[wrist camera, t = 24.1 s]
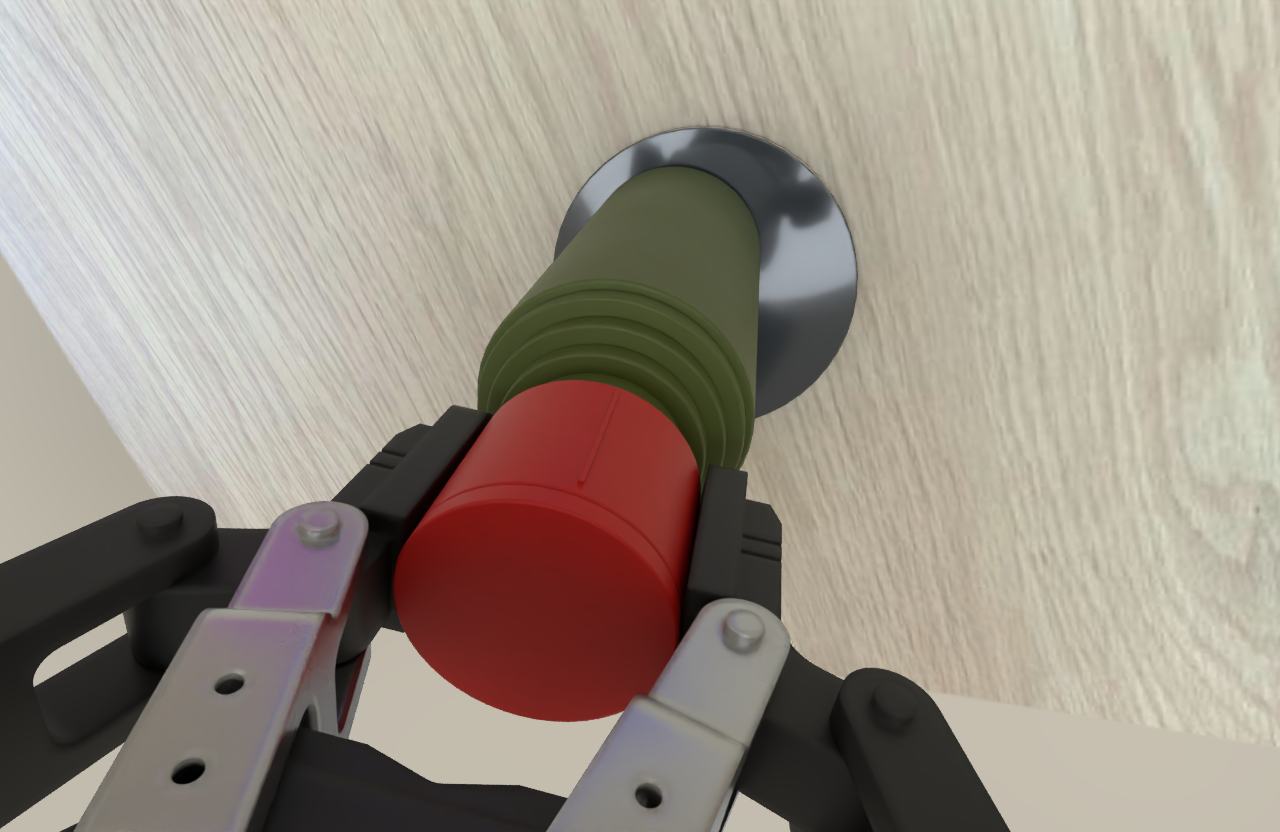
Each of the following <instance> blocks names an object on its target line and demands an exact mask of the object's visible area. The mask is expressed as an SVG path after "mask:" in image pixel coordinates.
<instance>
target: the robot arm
mask: <svg viewBox="0 0 1280 832" xmlns="http://www.w3.org/2000/svg"><path fill="white" fill-rule="evenodd" d="M492 417H493V415H492V414H491V413H487V412H483V411H478V410H474V409H469V408H465V407H460V406H456V405H452V406H451V407H450V408H449V409H448V410H447V411H446V412H445V413H444V414H443V415H442V416H441V417H440V419H439V420H438V421H437V422H436V423H435V424H434V425H433V426H428V425H423V424H418V425H416V426H414V427H411V428H409V429H407V430H405V431H403V432H400V433H398V434H396V435H395V436H394V437H393V438H392V439H391V440H390V441H389V442H388V444H387V445H386V446H385V447H384V448H383V449H382V452H379V453H378V454H377V455H376V456H375V457H374V458H373V459H372V460H371V461H370V464H367V465H366V466H365V467H364V468H363V469H362V470H361V471H360V472H359V473H358V474H357V475H356V476H355V477H354V478H353V479H352V480H351V481H350V482H349V483H348V484H347V485H346V486H345V487H344V488H343V489H342V490H341V491H340V492H339V493H338V494H337V495H336V496H335V497H334V498H333V499H332V500H331V501H320V502H312V503H306V504H303V505H299V506H297V507H294V508H292V509H290V510H288V511H286V512H284V513H283V514H281V515H280V516H279V517H278V518H277V519H276V520H275V521H274V522H273V524H272V525H271V527H270V529H234V528H217V523H216V516H215V512H214V510H213V509H212V507H211V506H210V505H208V504H207V503H205V502H203V501H201V500H198V499H195V498H190V497H182V496H169V497H160V498H154V499H149V500H146V501H142V502H139V503H137V504H134V505H132V506H129V507H127V508H125V509H123V510H120V511H118V512H116V513H113V514H111V515H109V516H107V517H104V518H103V519H100V520H98V521H96V522H93V523H91V524H89V525H87V526H84V527H82V528H80V529H78V530H75V531H73V532H71V533H69V534H67V535H64V536H62V537H60V538H57V539H55V540H53V541H51V542H49V543H46V544H44V545H42V546H39V547H37V548H35V549H33V550H31V551H28V552H26V553H24V554H21V555H19V556H17V557H15V558H13V559H10V560H8V561H6V562H4V563H1V564H0V828H1V827H3V826H4V825H6V824H7V823H9V822H10V821H12V820H13V819H15V818H16V817H17V816H19V815H20V814H22V813H23V812H24V811H26V810H27V809H29V808H30V807H32V806H33V805H34V804H36V803H38V802H39V801H40V800H42V799H43V798H45V797H46V796H48V795H49V794H51V793H52V792H53V791H55V790H56V789H58V788H59V787H61V786H62V785H63V784H65V783H66V782H68V781H69V780H71V779H72V778H73V777H75V776H76V775H78V774H79V773H81V772H82V771H84V770H85V769H86V768H88V767H89V766H91V765H92V764H94V763H95V762H97V761H98V760H99V759H101V758H102V757H104V756H105V755H107V754H108V753H109V752H111V751H112V750H114V749H115V748H117V747H118V746H120V745H121V744H122V743H124V742H125V743H124V745H123V746H122V748H121V750H120V752H119V753H118V755H117V757H116V759H115V760H114V762H113V764H112V766H111V767H110V769H109V771H108V772H107V774H106V776H105V778H104V779H103V781H102V783H101V785H100V786H99V788H98V790H97V791H96V793H95V795H94V797H93V798H92V800H91V802H90V804H89V805H88V807H87V809H86V811H85V812H84V814H83V816H82V817H81V819H80V821H79V823H77V824H75V825H73V826H70V827H69V828H66V829H64V830H62V831H60V832H723V830H724V828H725V825H726V823H727V821H728V818H729V816H730V813H731V811H732V808H733V806H734V803H735V801H736V798H737V796H738V794H739V792H741V793H742V794H744V795H746V796H747V797H749V798H751V799H752V800H754V801H756V802H757V803H759V804H761V805H762V806H764V807H766V808H767V809H769V810H771V811H772V812H774V813H776V814H777V815H779V816H780V817H782V818H784V819H786V820H787V821H789V825H790V831H791V832H1010V830H1009V828H1008V827H1007V825H1006V823H1005V822H1004V820H1003V818H1002V816H1001V814H1000V813H999V811H998V809H997V808H996V806H995V804H994V802H993V801H992V799H991V797H990V796H989V794H988V792H987V790H986V789H985V787H984V785H983V783H982V782H981V780H980V778H979V777H978V775H977V773H976V772H975V770H974V768H973V766H972V765H971V763H970V761H969V759H968V758H967V756H966V754H965V752H964V751H963V749H962V747H961V746H960V744H959V742H958V740H957V739H956V737H955V735H954V734H953V732H952V730H951V728H950V727H949V725H948V723H947V721H946V720H945V718H944V716H943V715H942V713H941V711H940V710H939V708H938V706H937V705H936V704H935V702H934V701H933V699H932V698H931V697H930V696H929V695H928V694H927V693H926V692H925V691H924V690H923V689H922V688H921V687H919V686H918V685H917V684H915V683H914V682H913V681H911V680H909V679H907V678H906V677H904V676H902V675H899V674H897V673H895V672H892V671H889V670H885V669H880V668H863V669H859V670H856V671H854V672H852V673H850V674H849V675H848V676H847V677H846V678H845V680H842V679H840V678H838V677H836V676H834V675H833V674H831V673H829V672H827V671H825V670H823V669H821V668H819V667H817V666H816V665H814V664H812V663H811V662H809V661H808V660H807V659H805V658H804V657H803V656H802V655H800V654H799V653H798V652H797V651H796V650H795V649H794V647H793V646H792V645H791V644H790V637H789V634H788V631H787V629H786V628H785V626H784V625H783V623H782V622H781V555H782V547H781V543H782V524H781V522H780V520H779V519H778V517H777V515H776V514H775V512H774V510H773V508H772V507H771V505H769V504H764V503H760V502H756V501H751V500H747V499H746V488H747V477H748V473H747V472H744V471H740V470H736V469H731V468H727V467H722V466H718V465H714V464H709V466H708V470H707V474H706V479H705V483H704V487H703V491H702V495H701V500H700V505H699V511H698V518H697V525H696V530H695V536H694V542H693V548H692V553H691V559H690V565H689V570H688V576H687V582H686V587H685V593H684V599H683V604H682V609H681V615H680V637H679V643H678V647H677V649H676V651H675V652H674V654H673V655H672V657H671V659H670V660H669V662H668V663H667V665H666V667H665V668H664V670H663V671H662V673H661V675H660V676H659V678H658V679H657V681H656V683H655V684H654V686H653V687H652V689H651V691H650V692H649V693H648V695H646V694H644V693H642V692H639V693H637V694H636V695H635V696H634V697H633V699H632V700H631V701H630V703H629V704H628V706H627V707H626V709H625V710H624V712H623V714H622V715H621V717H620V718H619V720H618V721H617V723H616V724H615V726H614V727H613V729H612V731H611V732H610V734H609V735H608V737H607V738H606V740H605V741H604V743H603V745H602V746H601V748H600V749H599V751H598V752H597V754H596V755H595V757H594V759H593V760H592V762H591V763H590V765H589V766H588V768H587V769H586V771H585V772H584V774H583V775H582V777H581V779H580V780H579V782H578V783H577V785H576V786H575V788H574V789H573V791H572V793H571V794H570V796H569V797H568V798H565V797H561V796H557V795H554V794H550V793H546V792H543V791H539V790H535V789H531V788H528V787H524V786H520V785H481V784H441V783H435V782H431V781H429V780H427V779H425V778H423V777H422V776H420V775H419V774H417V773H415V772H413V771H412V770H410V769H408V768H407V767H405V766H403V765H402V764H400V763H398V762H397V761H395V760H393V759H391V758H390V757H388V756H386V755H385V754H383V753H381V752H379V751H378V750H376V749H374V748H373V747H371V746H369V745H368V744H364V743H360V742H357V741H353V740H349V739H348V738H349V734H350V730H351V727H352V723H353V720H354V716H355V712H356V709H357V705H358V702H359V698H360V694H361V691H362V687H363V684H364V680H365V676H366V673H367V669H368V665H369V662H370V657H371V641H372V640H373V638H374V637H375V635H376V634H377V632H378V631H379V630H380V628H381V627H383V628H387V629H391V630H395V631H399V632H403V633H404V632H405V631H404V629H403V628H402V625H401V623H400V620H399V617H398V615H397V611H396V607H395V603H394V595H393V578H394V570H395V566H396V563H397V559H398V556H399V554H400V552H401V550H402V548H403V546H404V544H405V543H406V541H407V540H408V538H409V537H410V536H411V534H412V533H413V531H414V530H415V529H416V527H417V525H418V524H419V522H420V521H421V520H422V518H423V517H424V515H425V514H426V512H427V511H428V509H429V508H430V507H431V505H432V504H433V502H434V501H435V499H436V498H437V496H438V495H439V493H440V492H441V491H442V489H443V488H444V486H445V485H446V483H447V482H448V480H449V479H450V478H451V476H452V475H453V473H454V472H455V470H456V469H457V467H458V466H459V464H460V463H461V462H462V460H463V459H464V457H465V456H466V454H467V453H468V451H469V450H470V449H471V447H472V446H473V444H474V443H475V441H476V440H477V438H478V437H479V435H480V434H481V433H482V431H483V430H484V428H485V427H486V425H487V424H488V422H489V421H490V420H491V418H492ZM121 613H123V615H124V620H125V624H126V629H127V633H126V634H125V635H123V636H121V637H120V638H118V639H116V640H114V641H113V642H111V643H109V644H108V645H106V646H104V647H102V648H101V649H99V650H97V651H95V652H94V653H92V654H90V655H89V656H87V657H85V658H83V659H82V660H80V661H78V662H77V663H75V664H73V665H71V666H70V667H68V668H66V669H64V670H63V671H61V672H59V673H58V674H56V675H54V676H52V677H51V678H49V679H47V680H46V681H44V682H42V683H40V684H39V685H37V686H35V687H33V678H34V674H35V672H36V670H37V668H38V667H39V665H40V664H41V663H42V662H43V660H44V659H45V658H46V657H47V656H48V655H50V654H51V653H52V652H53V651H55V650H57V649H58V648H60V647H61V646H63V645H65V644H67V643H69V642H71V641H72V640H74V639H76V638H78V637H79V636H81V635H83V634H85V633H87V632H89V631H90V630H92V629H94V628H96V627H98V626H99V625H101V624H103V623H105V622H107V621H108V620H110V619H112V618H114V617H116V616H117V615H119V614H121Z"/></svg>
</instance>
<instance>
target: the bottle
mask: <svg viewBox="0 0 1280 832" xmlns="http://www.w3.org/2000/svg"><path fill="white" fill-rule="evenodd" d="M759 281H760V240H759V235H758V230H757V227H756V224H755V221H754V219H753V217H752V215H751V213H750V211H749V209H748V207H747V206H746V204H745V203H744V201H743V200H742V199H741V198H740V197H739V196H738V194H737V193H736V192H735V191H734V190H733V189H731V188H730V187H729V186H728V185H727V184H725V183H724V182H722V181H721V180H719V179H718V178H716V177H714V176H712V175H710V174H708V173H706V172H703V171H699V170H696V169H692V168H686V167H661V168H656V169H652V170H648V171H645V172H643V173H640V174H638V175H636V176H634V177H632V178H631V179H629V180H627V181H626V182H625V183H623V184H622V185H621V186H619V187H618V188H617V189H616V190H615V191H614V192H613V193H612V194H611V195H610V196H609V198H608V199H607V200H606V201H605V202H604V203H603V205H602V206H601V207H600V208H599V209H598V211H597V212H596V213H595V214H594V215H593V216H592V218H591V219H590V220H589V221H588V222H587V223H586V225H585V226H584V227H583V228H582V229H581V230H580V232H579V233H578V234H577V235H576V236H575V237H574V239H573V240H572V241H571V242H570V243H569V244H568V246H567V247H566V248H565V249H564V250H563V251H562V253H561V254H560V255H559V256H558V257H557V258H556V260H555V261H554V262H553V263H552V264H551V266H550V267H549V268H548V269H547V270H546V271H545V273H544V274H543V275H542V276H541V277H540V278H539V280H538V281H537V282H536V283H535V284H534V285H533V287H532V288H531V289H530V290H529V291H528V292H527V294H526V295H525V296H524V297H523V298H522V299H521V301H520V302H519V303H518V304H517V305H516V306H515V308H514V309H513V310H512V311H511V312H510V313H509V315H508V316H507V317H506V318H505V319H504V321H503V322H502V323H501V325H500V326H499V327H498V329H497V330H496V331H495V333H494V334H493V336H492V338H491V340H490V342H489V344H488V346H487V347H486V350H485V353H484V356H483V359H482V362H481V365H480V371H479V377H478V411H483V412H487V413H491V414H492V415H493V416H494V414H495V413H496V412H497V411H498V410H499V409H500V408H501V407H502V406H503V405H504V404H505V403H506V402H508V401H509V400H510V399H512V398H513V397H515V396H516V395H518V394H520V393H522V392H524V391H526V390H528V389H530V388H533V387H536V386H539V385H542V384H546V383H551V382H556V381H566V380H582V381H593V382H598V383H604V384H608V385H611V386H614V387H618V388H621V389H623V390H625V391H628V392H630V393H632V394H635V395H636V396H638V397H640V398H642V399H644V400H645V401H647V402H649V403H650V404H651V405H653V406H654V407H655V408H657V409H658V410H660V411H661V412H662V413H663V414H664V415H665V416H666V417H667V418H668V419H669V420H670V421H671V422H672V423H673V424H674V425H675V426H676V427H677V429H678V430H679V431H680V432H681V434H682V435H683V437H684V438H685V440H686V441H687V443H688V445H689V446H690V448H691V451H692V453H693V455H694V457H695V459H696V463H697V466H698V470H699V475H700V482H701V495H702V491H703V487H704V483H705V479H706V474H707V470H708V466H709V464H714V465H718V466H722V467H727V468H731V469H736V470H739V469H740V468H741V466H742V465H743V463H744V460H745V458H746V455H747V453H748V451H749V448H750V444H751V440H752V436H753V430H754V419H755V394H756V365H757V337H758V309H759ZM700 500H701V498H700Z"/></svg>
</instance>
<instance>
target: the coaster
mask: <svg viewBox="0 0 1280 832" xmlns="http://www.w3.org/2000/svg"><path fill="white" fill-rule="evenodd" d="M661 167H686V168H692V169H696V170H699V171H703V172H706V173H708V174H710V175H712V176H714V177H716V178H718V179H719V180H721V181H722V182H724V183H725V184H727V185H728V186H729V187H730V188H731V189H733V190H734V191H735V192H736V193H737V194H738V196H739V197H740V198H741V199H742V200H743V201H744V203H745V204H746V206H747V207H748V209H749V211H750V213H751V215H752V217H753V219H754V221H755V224H756V227H757V230H758V235H759V240H760V281H759V309H758V337H757V365H756V394H755V418H757V417H760V416H763V415H765V414H768V413H770V412H772V411H774V410H776V409H778V408H780V407H782V406H784V405H786V404H787V403H789V402H790V401H792V400H793V399H795V398H796V397H797V396H799V395H800V394H802V393H803V392H804V391H805V390H806V389H807V388H808V387H810V386H811V385H812V384H813V383H814V382H815V381H816V380H817V379H818V378H819V377H820V375H821V374H822V373H823V372H824V371H825V370H826V369H827V367H828V366H829V365H830V363H831V362H832V360H833V359H834V357H835V356H836V354H837V353H838V351H839V349H840V347H841V345H842V343H843V341H844V339H845V337H846V335H847V332H848V329H849V326H850V323H851V320H852V317H853V313H854V308H855V302H856V297H857V280H858V273H857V262H856V253H855V249H854V245H853V241H852V237H851V233H850V230H849V228H848V225H847V223H846V220H845V218H844V215H843V213H842V211H841V209H840V207H839V205H838V204H837V202H836V200H835V198H834V196H833V195H832V193H831V192H830V191H829V189H828V188H827V187H826V185H825V184H824V183H823V181H822V180H821V179H820V178H819V176H818V175H816V174H815V173H814V172H813V171H812V170H811V169H810V168H809V167H808V166H807V165H806V164H805V163H804V162H803V161H802V160H800V159H799V158H797V157H796V156H795V155H793V154H792V153H791V152H789V151H788V150H787V149H785V148H783V147H781V146H779V145H777V144H775V143H773V142H772V141H770V140H768V139H765V138H763V137H760V136H757V135H754V134H752V133H749V132H746V131H741V130H736V129H731V128H727V127H714V126H696V127H683V128H678V129H673V130H669V131H664V132H661V133H658V134H655V135H653V136H650V137H647V138H644V139H642V140H640V141H638V142H636V143H635V144H633V145H631V146H629V147H627V148H625V149H623V150H622V151H620V152H619V153H618V154H616V155H615V156H614V157H612V158H611V159H609V160H608V161H607V162H605V163H604V164H603V165H602V166H601V167H600V168H599V169H598V170H597V171H596V172H595V173H594V174H593V175H592V176H591V177H590V178H589V179H588V181H587V182H586V183H585V184H584V186H583V187H582V188H581V189H580V191H579V192H578V193H577V195H576V197H575V199H574V200H573V202H572V204H571V205H570V207H569V209H568V211H567V213H566V216H565V218H564V221H563V223H562V225H561V228H560V231H559V235H558V239H557V243H556V247H555V254H554V261H555V260H556V258H557V257H558V256H559V255H560V254H561V253H562V251H563V250H564V249H565V248H566V247H567V246H568V244H569V243H570V242H571V241H572V240H573V239H574V237H575V236H576V235H577V234H578V233H579V232H580V230H581V229H582V228H583V227H584V226H585V225H586V223H587V222H588V221H589V220H590V219H591V218H592V216H593V215H594V214H595V213H596V212H597V211H598V209H599V208H600V207H601V206H602V205H603V203H604V202H605V201H606V200H607V199H608V198H609V196H610V195H611V194H612V193H613V192H614V191H615V190H616V189H617V188H618V187H619V186H621V185H622V184H623V183H625V182H626V181H627V180H629V179H631V178H632V177H634V176H636V175H638V174H640V173H643V172H645V171H648V170H652V169H656V168H661Z"/></svg>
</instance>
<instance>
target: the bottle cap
mask: <svg viewBox="0 0 1280 832" xmlns="http://www.w3.org/2000/svg"><path fill="white" fill-rule="evenodd" d="M700 498H701V482H700V475H699V470H698V466H697V463H696V459H695V457H694V455H693V453H692V451H691V448H690V446H689V445H688V443H687V441H686V440H685V438H684V437H683V435H682V434H681V432H680V431H679V430H678V429H677V427H676V426H675V425H674V424H673V423H672V422H671V421H670V420H669V419H668V418H667V417H666V416H665V415H664V414H663V413H662V412H661V411H660V410H658V409H657V408H655V407H654V406H653V405H651V404H650V403H649V402H647V401H645V400H644V399H642V398H640V397H638V396H636V395H635V394H632V393H630V392H628V391H625V390H623V389H621V388H618V387H614V386H611V385H608V384H604V383H598V382H593V381H582V380H566V381H556V382H551V383H546V384H542V385H539V386H536V387H533V388H530V389H528V390H526V391H524V392H522V393H520V394H518V395H516V396H515V397H513V398H512V399H510V400H509V401H508V402H506V403H505V404H504V405H503V406H502V407H501V408H500V409H499V410H498V411H497V412H496V413H495V414H494V416H493V417H492V418H491V420H490V421H489V422H488V424H487V425H486V427H485V428H484V430H483V431H482V433H481V434H480V435H479V437H478V438H477V440H476V441H475V443H474V444H473V446H472V447H471V449H470V450H469V451H468V453H467V454H466V456H465V457H464V459H463V460H462V462H461V463H460V464H459V466H458V467H457V469H456V470H455V472H454V473H453V475H452V476H451V478H450V479H449V480H448V482H447V483H446V485H445V486H444V488H443V489H442V491H441V492H440V493H439V495H438V496H437V498H436V499H435V501H434V502H433V504H432V505H431V507H430V508H429V509H428V511H427V512H426V514H425V515H424V517H423V518H422V520H421V521H420V522H419V524H418V525H417V527H416V529H415V530H414V531H413V533H412V534H411V536H410V537H409V538H408V540H407V541H406V543H405V544H404V546H403V548H402V550H401V552H400V554H399V556H398V559H397V563H396V566H395V570H394V578H393V595H394V603H395V607H396V611H397V615H398V617H399V620H400V623H401V625H402V628H403V629H404V631H405V633H406V634H407V637H408V638H409V640H410V642H411V643H412V645H413V646H414V647H415V649H416V650H417V652H418V653H419V654H420V655H421V656H422V658H423V659H424V660H425V661H426V662H427V663H428V664H429V665H430V666H431V667H432V668H433V669H434V670H435V671H436V672H437V673H438V674H439V675H441V676H442V677H443V678H444V679H446V680H447V681H448V682H450V683H451V684H452V685H454V686H455V687H456V688H458V689H460V690H461V691H463V692H465V693H466V694H468V695H469V696H471V697H473V698H475V699H477V700H479V701H481V702H483V703H485V704H487V705H490V706H492V707H495V708H497V709H500V710H503V711H505V712H509V713H512V714H516V715H519V716H523V717H528V718H532V719H538V720H546V721H558V722H560V721H561V722H576V721H588V720H594V719H599V718H604V717H607V716H610V715H614V714H617V713H620V712H622V711H624V710H625V709H626V707H627V706H628V704H629V703H630V701H631V700H632V699H633V697H634V696H635V695H636V694H637V693H639V692H642V693H644V694H646V695H648V693H649V692H650V691H651V689H652V687H653V686H654V684H655V683H656V681H657V679H658V678H659V676H660V675H661V673H662V671H663V670H664V668H665V667H666V665H667V663H668V662H669V660H670V659H671V657H672V655H673V654H674V652H675V651H676V649H677V647H678V643H679V637H680V615H681V609H682V604H683V599H684V593H685V587H686V582H687V576H688V570H689V565H690V559H691V553H692V548H693V542H694V536H695V530H696V525H697V518H698V511H699V505H700Z"/></svg>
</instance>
